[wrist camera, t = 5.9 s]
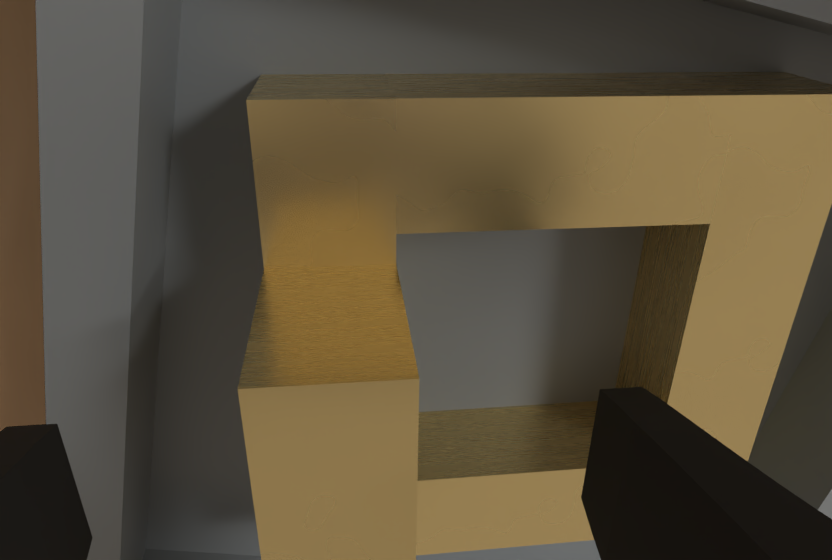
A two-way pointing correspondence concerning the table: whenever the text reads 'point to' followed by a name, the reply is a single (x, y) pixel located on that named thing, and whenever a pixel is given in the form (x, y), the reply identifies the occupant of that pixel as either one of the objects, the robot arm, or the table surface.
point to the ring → (499, 211)
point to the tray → (415, 253)
